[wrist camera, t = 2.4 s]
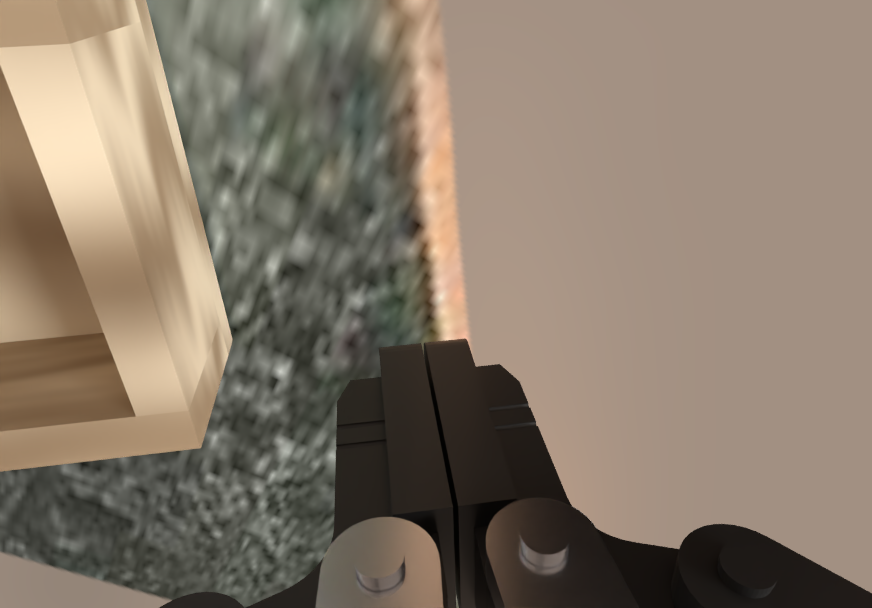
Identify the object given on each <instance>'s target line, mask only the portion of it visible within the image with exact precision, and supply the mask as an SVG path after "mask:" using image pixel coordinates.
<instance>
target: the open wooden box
mask: <svg viewBox="0 0 872 608" xmlns="http://www.w3.org/2000/svg"><path fill="white" fill-rule="evenodd" d="M232 341H233V340H232V336H231V332H230V328H229V324H228V320H227V316H226V312H225V308H224V304H223V300H222V297H221V293H220V289H219V285H218V281H217V277H216V273H215V269H214V265H213V261H212V257H211V253H210V249H209V246H208V242H207V238H206V234H205V230H204V226H203V222H202V218H201V214H200V210H199V206H198V202H197V199H196V195H195V191H194V187H193V183H192V179H191V175H190V171H189V167H188V163H187V159H186V155H185V151H184V148H183V144H182V140H181V136H180V132H179V128H178V124H177V120H176V116H175V112H174V108H173V104H172V101H171V97H170V93H169V89H168V85H167V81H166V77H165V73H164V69H163V65H162V61H161V57H160V54H159V50H158V46H157V42H156V38H155V34H154V30H153V26H152V22H151V18H150V14H149V10H148V6H147V3H146V0H0V471H8V470H17V469H25V468H34V467H42V466H51V465H59V464H68V463H77V462H85V461H94V460H102V459H111V458H119V457H128V456H136V455H145V454H153V453H162V452H171V451H179V450H188V449H196V448H201V446H202V442H203V439H204V436H205V432H206V429H207V425H208V422H209V419H210V415H211V412H212V408H213V405H214V402H215V398H216V395H217V392H218V388H219V385H220V381H221V378H222V375H223V371H224V368H225V364H226V361H227V358H228V354H229V351H230V347H231V344H232Z"/></svg>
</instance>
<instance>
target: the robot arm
mask: <svg viewBox="0 0 872 608" xmlns="http://www.w3.org/2000/svg"><path fill="white" fill-rule="evenodd" d="M379 353H380V366H381V377H378V378H368V379H359V380H350V382H349V384H348V385H347V387H346V389H345V390H344V392H343V393H342V395H341V397H340V398H339V400H338V401H337V436H336V447H337V450H336V476H335V517H334V533H333V538H332V541H331V544H330V547H329V548H328V550H327V551H326V553H325V556H324V557H323V559H322V560H321V562H320V563H319V564H318V565H317V567H316V568H315V569H314V570H313V571H312V572H311V573H310V574H308V575H307V576H306V577H305V578H304V579H302V580H301V581H299V582H298V583H297V584H295V585H294V586H292V587H290V588H288V589H286V590H284V591H282V592H280V593H278V594H275V595H273V596H271V597H269V598H266V599H264V600H262V601H260V602H258V603H255V604H253V605H251V606H249V607H246V608H456V594H457V600H458V606H459V608H872V593H870V592H868V591H866V590H864V589H863V588H861V587H859V586H857V585H855V584H853V583H852V582H850V581H848V580H846V579H844V578H842V577H841V576H839V575H837V574H835V573H833V572H831V571H829V570H828V569H826V568H824V567H822V566H820V565H818V564H816V563H815V562H813V561H811V560H809V559H807V558H805V557H804V556H801V555H800V554H798V553H796V552H794V551H792V550H791V549H789V548H787V547H785V546H783V545H781V544H780V543H778V542H776V541H774V540H772V539H770V538H768V537H767V536H764V535H762V534H760V533H758V532H756V531H753V530H750V529H747V528H744V527H740V526H736V525H728V524H713V525H707V526H703V527H701V528H699V529H696V530H694V531H693V532H691V533H690V534H689V535H688V536H687V537H686V538H685V539H684V540H683V542H682V544H681V546H680V549H674V548H667V547H661V546H655V545H648V544H642V543H636V542H630V541H625V540H622V539H618V538H616V537H613V536H610V535H608V534H606V533H603V532H601V531H600V530H598V529H597V528H596V527H595V526H594V524H593V523H592V522H591V521H590V520H589V519H588V518H587V516H585V515H584V514H583V513H582V512H580V511H579V510H577V509H576V508H574V507H572V505H571V504H570V502H569V500H568V498H567V496H566V493H565V491H564V489H563V486H562V484H561V481H560V479H559V477H558V474H557V472H556V469H555V467H554V464H553V462H552V459H551V457H550V455H549V452H548V450H547V448H546V445H545V443H544V440H543V438H542V435H541V433H540V430H539V428H538V426H536V421H535V418H534V416H533V413H532V411H531V409H530V408H529V406H528V401H527V399H526V396H525V394H524V392H523V389H522V387H521V384H520V382H519V381H518V380H517V379H516V378H515V377H513V375H511V374H510V373H509V372H508V371H507V370H506V369H505V368H503V367H502V366H501V365H500V364H498V365H488V366H479V367H475V363H474V360H473V357H472V354H471V351H470V348H469V345H468V342H467V340H466V339H457V340H448V341H438V342H428V343H424V355H423V350H422V345H421V343H420V344H410V345H400V346H390V347H381V348H379ZM160 608H244V607H243V606H242V605H241V604H240V603H239V602H238V601H237V600H235V599H233V598H231V597H229V596H227V595H224V594H220V593H215V592H201V593H194V594H190V595H186V596H183V597H180V598H177V599H175V600H172V601H171V602H169V603H167V604H165V605H163V606H161V607H160Z"/></svg>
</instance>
